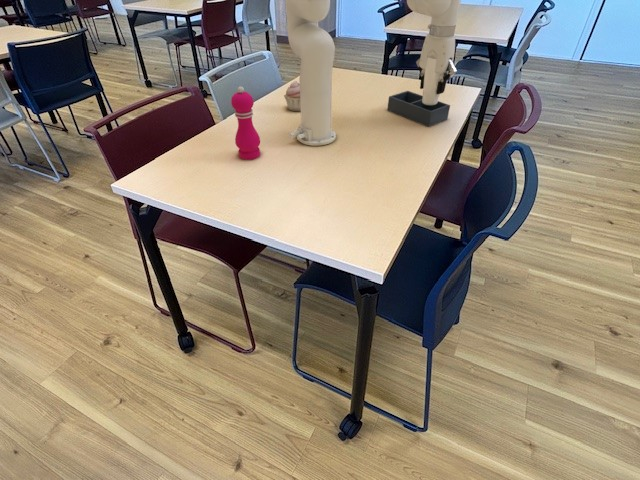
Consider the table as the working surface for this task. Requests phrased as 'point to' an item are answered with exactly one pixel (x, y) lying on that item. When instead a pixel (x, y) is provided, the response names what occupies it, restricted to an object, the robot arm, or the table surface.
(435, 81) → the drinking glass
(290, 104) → the cupcake
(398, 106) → the glass rack
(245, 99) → the pepper mill
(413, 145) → the table surface
